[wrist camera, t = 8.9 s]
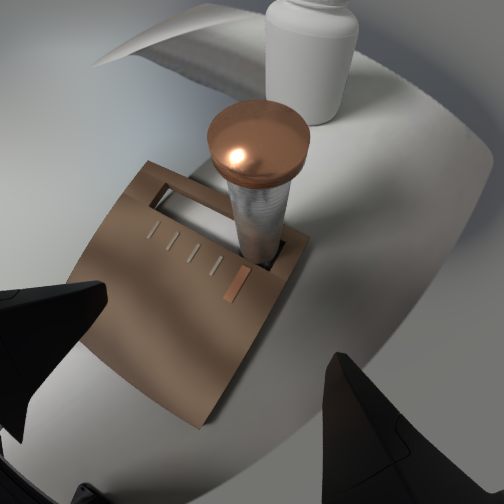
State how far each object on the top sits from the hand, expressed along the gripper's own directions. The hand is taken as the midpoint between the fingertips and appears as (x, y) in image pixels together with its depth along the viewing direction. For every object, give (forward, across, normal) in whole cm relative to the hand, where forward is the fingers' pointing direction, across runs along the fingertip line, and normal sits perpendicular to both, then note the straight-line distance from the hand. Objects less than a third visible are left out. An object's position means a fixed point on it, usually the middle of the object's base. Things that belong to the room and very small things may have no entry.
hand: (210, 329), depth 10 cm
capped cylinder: (+12, 0, -3) cm, 13 cm away
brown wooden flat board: (+9, -6, -6) cm, 13 cm away
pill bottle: (+25, 0, +10) cm, 27 cm away
